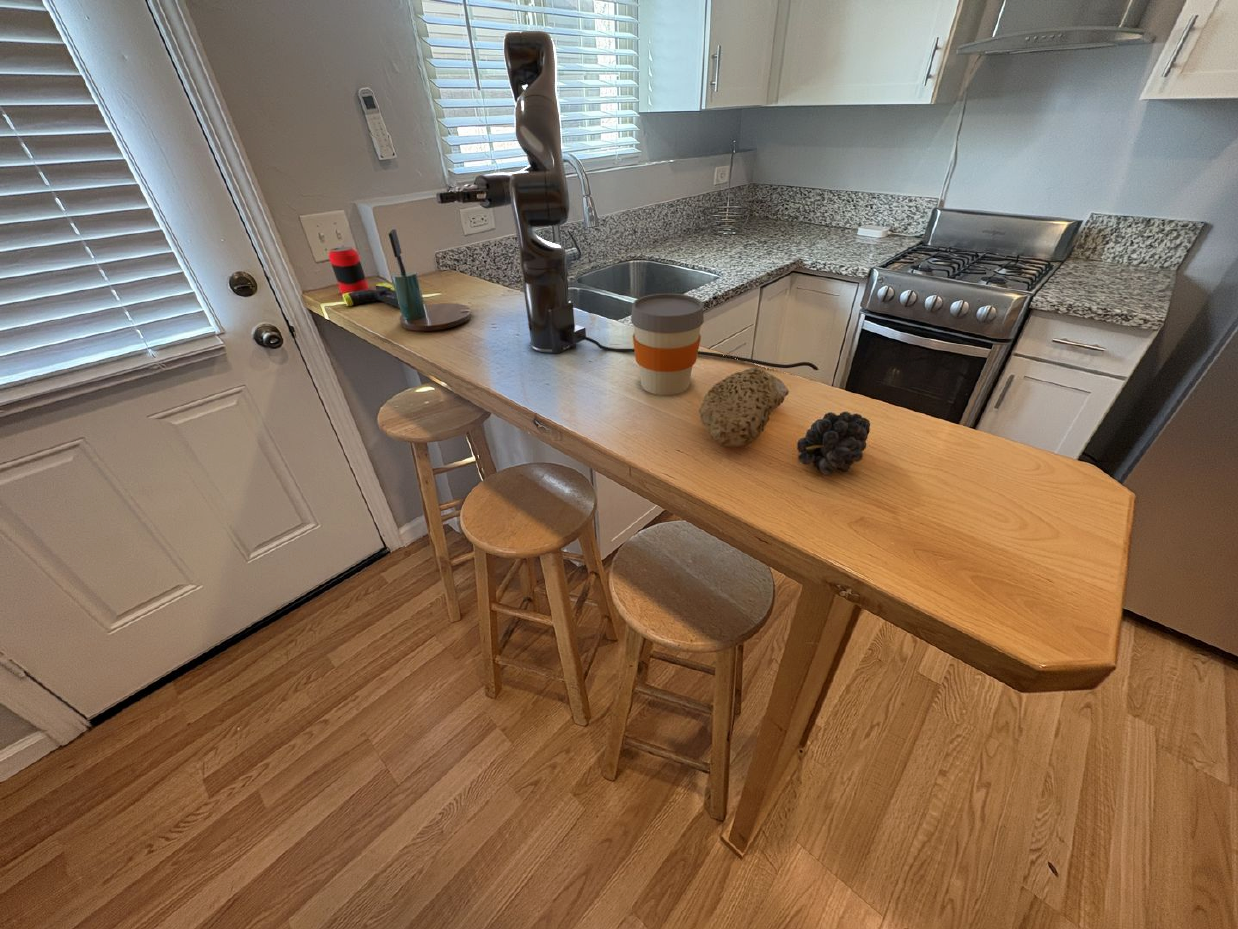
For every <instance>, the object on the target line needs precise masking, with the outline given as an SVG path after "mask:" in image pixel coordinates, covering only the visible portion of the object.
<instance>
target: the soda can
mask: <svg viewBox="0 0 1238 929" xmlns="http://www.w3.org/2000/svg"><path fill="white" fill-rule="evenodd" d="M328 258H329V262H330V265H331V268H332V270H333V273H334V276H335V279H336V282H337V285H338V287H339V290H340V293H341V295H342V294H345V293H350V292H355V291H359V290H370V288H369V284H368V281H367V279H366V276H365V275H366V274H365V272H364V268H363V266H362V263H361V260H360V256H359V253H358V252H357V251H356V250H355V249H354V248H353V247H351V246H341V247H335V248H331V249H330V251H329V253H328Z"/></svg>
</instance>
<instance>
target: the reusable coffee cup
mask: <svg viewBox="0 0 1238 929" xmlns="http://www.w3.org/2000/svg"><path fill="white" fill-rule="evenodd" d="M630 322H631V324H632V326H633V334H632V342H633V349H634V350H635V352H634V357H635V363H637V365H638V369H639V370H638V372H639V377H640V385H641V387H642V389H644V391H646V392H648V393H650V394H653V395H657V396H671V395H673V396H674V395H677V394H681V393H683V392H685V391H687V389H688V388H689V386H690V381H691V380H690V379H691V377H692V371H693V367H694V365H695V364H696V362H697V359H698V358H697V357H698V351H699V348H700V345H701V339H702V336H701V334H700V333H701V328H702V326H703V324H704V302H703V301H702V300H700V299H699V298H697V297H695V296H691V295H688V294H682V293H653V294H648V295H643V296H641V297H639V298H637V299H635V300H634V301H633V302H632V306H631V317H630Z"/></svg>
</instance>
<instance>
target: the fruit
mask: <svg viewBox="0 0 1238 929" xmlns="http://www.w3.org/2000/svg"><path fill="white" fill-rule="evenodd" d="M870 427H871V422H870V420H869V419H868V418H866V417H863V416H862V414H860V413H850V412H849V411H843V412H840V413H839V415H838V414H836V413H835V412H831V411H830V412H827V413H825V414H824V415H823V416H822V418H819V419H818V418H817V419H816V420H815V421H814V422H812V424H811V425H810V428H809V429H807V431H806V433H805V436H804V437H800V438H799V439H798V441H797V443H796V447H797V448H796V449H797V451H798V453H799V454H798V458H797V459H798V462H799V463H800V464H802V465H810V464H812V465H813V467H814V468H815V469H816V470H817V471H821V473H822V474H823V475H826V476H831V475H833V474H834V473H835V472H836V471H837V472H839V473H841V474H845V473H848V472H849V470H850V469H851V466H853V465H854V464H855V463H859V462H860V461H862V460H863V458H864V454H863V451H865V450H866V448H867V440H868V438H869V437H868V436H869V433H870V432H871V428H870Z"/></svg>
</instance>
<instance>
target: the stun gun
mask: <svg viewBox="0 0 1238 929" xmlns="http://www.w3.org/2000/svg"><path fill="white" fill-rule="evenodd" d="M341 296H342V299H343V301H344V303H345V305H346V306H347V307H351V306H355V305H356V306H357V305H360V304H364V303H365V304H366V303H370V302H375V301H381V302H384V303H386V304H388V305H390V306H393V307H397V308H399V309H400V307H399V304H398V300H397V297H396V293H395V290H394V286H393V284H391V283H388V282H380V283H376V284H375V289H369V290H359V291H355V292H350V293H345V294H342V293H341Z"/></svg>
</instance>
